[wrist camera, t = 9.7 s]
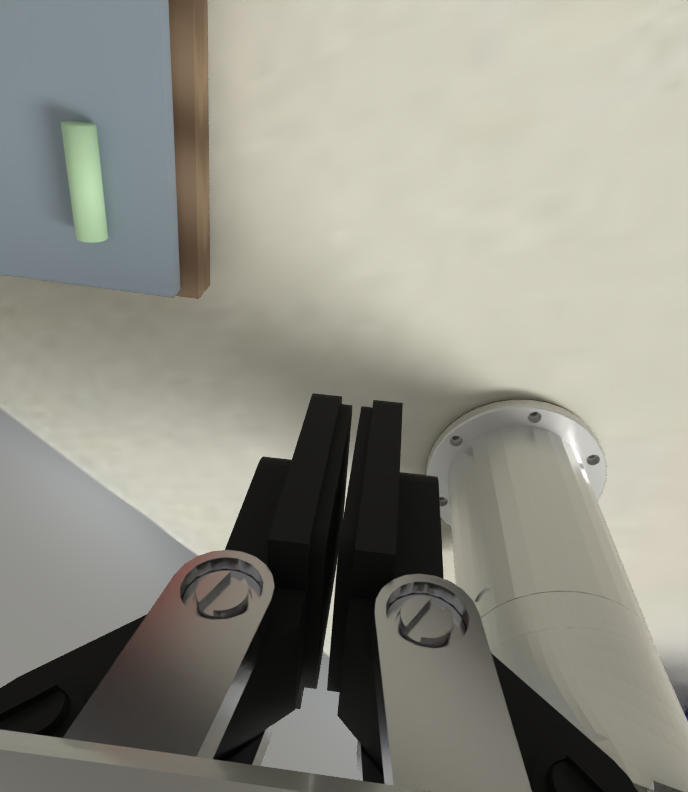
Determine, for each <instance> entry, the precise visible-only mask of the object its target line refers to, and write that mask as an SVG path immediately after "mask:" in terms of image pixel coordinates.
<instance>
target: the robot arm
mask: <svg viewBox="0 0 688 792" xmlns="http://www.w3.org/2000/svg"><path fill="white" fill-rule="evenodd" d="M402 404H403V403H396V402H387V401H378V400H374V401H373V408H371V407H362V406H361V412H360V418H359V424H358V430H357V436H356V443H355V449H354V455H353V461H352V468H351V474H350V480H349V486H348V493H347V499H346V505H345V511H344V503H345V491H346V478H347V466H348V454H349V442H350V430H351V418H352V405H344V404H342V397H341V396H331V395H322V394H312V397H311V400H310V403H309V407H308V410H307V413H306V416H305V419H304V423H303V426H302V429H301V432H300V436H299V439H298V442H297V445H296V448H295V452H294V455H293V458H292V460H288V459H279V458H270V457H262V458H261V460H260V462H259V464H258V466H257V469H256V471H255V474H254V477H253V479H252V482H251V484H250V487H249V489H248V492H247V495H246V497H245V500H244V502H243V505H242V507H241V510H240V513H239V515H238V518H237V520H236V523H235V525H234V528H233V531H232V533H231V536H230V538H229V541H228V543H227V546H226V549H225V550H222V551H212V552H209V553H206V554H203V555H200V556H197V557H195V558H194V559H192V560H190V561H189V562H187V563H186V564H184V565H183V566H182V567H181V568H180V569H179V570H178V572H177V573H176V574H175V575H174V576H173V578H172V579H171V581H170V582H169V583H168V585H167V587H166V588H165V589H164V591H163V592H162V594H161V595H160V597H159V598H158V599H157V601H156V602H155V604H154V605H153V607H152V608H151V610H150V611H149V613H148V614H147V615H145V616H143V617H141V618H139V619H137V620H135V621H133V622H131V623H129V624H126V625H124V626H122V627H120V628H118V629H116V630H114V631H112V632H110V633H108V634H106V635H104V636H102V637H100V638H98V639H96V640H94V641H92V642H89V643H87V644H86V645H83V646H81V647H79V648H77V649H75V650H73V651H71V652H69V653H67V654H65V655H63V656H61V657H59V658H57V659H55V660H52V661H50V662H48V663H47V664H44V665H42V666H40V667H38V668H36V669H34V670H32V671H30V672H28V673H26V674H24V675H22V676H20V677H18V678H16V679H15V680H13V681H11V682H10V683H8V684H6V685H5V686H3V687H2V688H0V792H688V720H687V718H686V716H685V714H684V712H683V709H682V707H681V705H680V703H679V700H678V698H677V696H676V694H675V691H674V689H673V687H672V684H671V682H670V680H669V678H668V675H667V673H666V671H665V668H664V666H663V663H662V661H661V658H660V656H659V654H658V651H657V649H656V646H655V644H654V641H653V639H652V636H651V634H650V631H649V629H648V627H647V624H646V621H645V618H644V616H643V613H642V611H641V608H640V606H639V603H638V601H637V598H636V596H635V593H634V591H633V588H632V586H631V583H630V581H629V578H628V576H627V574H626V571H625V569H624V566H623V564H622V561H621V559H620V556H619V554H618V551H617V549H616V546H615V544H614V541H613V539H612V536H611V534H610V531H609V529H608V526H607V524H606V521H605V519H604V516H603V514H602V511H601V509H600V506H599V504H598V501H599V499H600V497H601V495H602V493H603V490H604V487H605V483H606V476H607V465H606V461H605V456H604V452H603V450H602V448H601V446H600V443H599V441H598V439H597V438H596V436H595V435H594V433H593V432H592V430H591V429H590V427H589V426H587V425H586V424H585V423H584V422H583V421H582V420H581V419H580V418H579V417H577V416H576V415H574V414H572V413H571V412H569V411H567V410H566V409H564V408H561V407H558V406H555V405H553V404H550V403H546V402H540V401H534V400H507V401H501V402H494V403H491V404H488V405H485V406H482V407H479V408H476V409H474V410H472V411H470V412H468V413H466V414H465V415H463V416H461V417H460V418H459V419H457V420H456V421H455V422H453V423H452V424H450V425H449V426H448V427H447V428H446V430H445V431H444V432H443V433H442V434H441V435H440V436H439V437H438V439H437V441H436V442H435V444H434V446H433V447H432V449H431V452H430V455H429V458H428V461H427V469H426V475H419V474H410V473H401V472H400V451H401V428H402ZM532 412H534V413H532ZM343 515H344V518H343ZM440 517H441V518H442V519H443V521H444V522H445V523H446V524H448V525H449V526H450V527H451V530H452V543H453V555H454V567H455V580H456V585H455V584H453V583H452V582H450V581H448V580H445V579H443V560H442V539H441V519H440ZM337 559H338V562H337ZM336 565H337V574H336V586H335V599H334V611H333V624H332V636H331V648H330V661H329V673H328V686H327V690H328V691H336V692H340V695H339V706H338V717H339V718H340V719H341V720H342V721H343V723H344V724H345V725H346V726H347V727H348V729H349V730H350V731H351V732H352V734H353V735H354V736H355V737H356V738H357V740H358V745H357V767H358V780H353V779H346V778H339V777H332V776H325V775H318V774H311V773H304V772H298V771H291V770H284V769H277V768H270V767H263V766H261V763H262V761H263V758H264V755H265V752H266V750H267V747H268V745H269V742H270V738H271V733H272V726H273V724H274V723H276V722H277V721H279V720H280V719H282V718H283V717H285V716H286V715H288V714H289V713H291V712H292V711H294V710H295V708H297V709H300V707H301V702H302V696H303V691H304V687H306V688H314V689H316V688H317V684H318V678H319V671H320V665H321V659H322V653H323V646H324V640H325V634H326V628H327V621H328V615H329V609H330V602H331V596H332V590H333V584H334V577H335V571H336Z"/></svg>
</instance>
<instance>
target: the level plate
mask: <svg viewBox="0 0 688 792" xmlns="http://www.w3.org/2000/svg"><path fill="white" fill-rule="evenodd" d="M0 275H7V276H15V277H22V278H30V279H38V280H45V281H53V282H60V283H68V284H75V285H83V286H90V287H98V288H105V289H113V290H120V291H128V292H135V293H143V294H150V295H158V296H165V297H173V298H174V297H175V296H176V294H177V293H178V292H179V291H180V290H181V289H180V265H179V241H178V218H177V194H176V170H175V146H174V122H173V99H172V75H171V51H170V27H169V3H168V0H0Z"/></svg>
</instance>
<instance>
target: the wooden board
mask: <svg viewBox="0 0 688 792" xmlns="http://www.w3.org/2000/svg"><path fill="white" fill-rule="evenodd" d="M168 3H169V27H170V51H171V75H172V99H173V122H174V146H175V170H176V194H177V218H178V241H179V265H180V289H181V290H180V291H179V292H178V293H177V294H176V296H182V297H190V298H197V299H199V298H200V296H201V295H202V294H203V293H204V291H205V290H206V289H207V288H208V286H209V285H210V237H209V125H208V12H207V0H168Z"/></svg>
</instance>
